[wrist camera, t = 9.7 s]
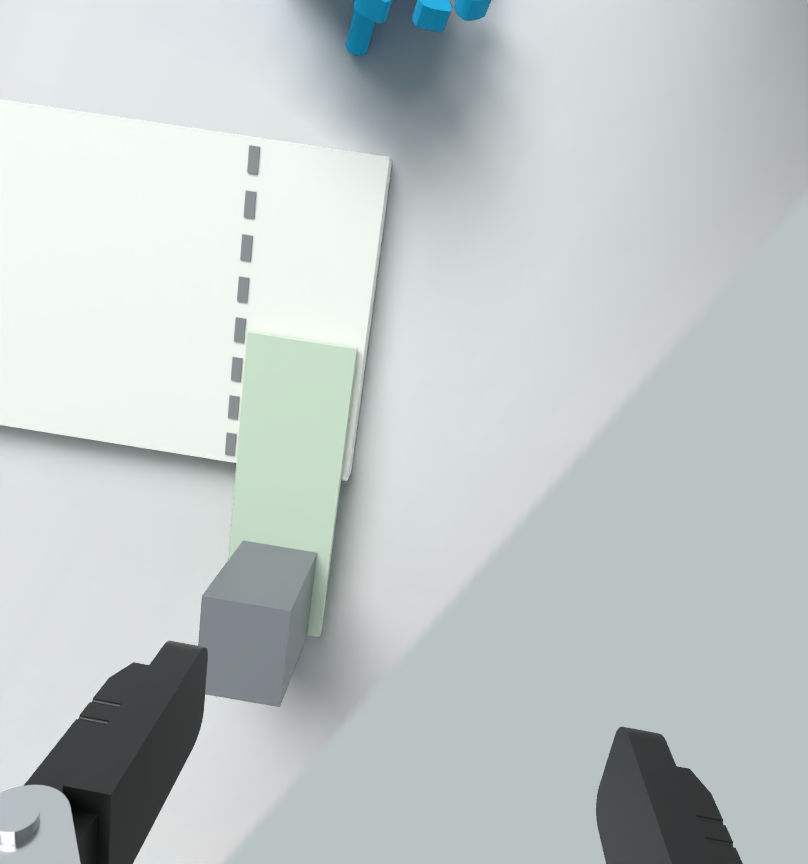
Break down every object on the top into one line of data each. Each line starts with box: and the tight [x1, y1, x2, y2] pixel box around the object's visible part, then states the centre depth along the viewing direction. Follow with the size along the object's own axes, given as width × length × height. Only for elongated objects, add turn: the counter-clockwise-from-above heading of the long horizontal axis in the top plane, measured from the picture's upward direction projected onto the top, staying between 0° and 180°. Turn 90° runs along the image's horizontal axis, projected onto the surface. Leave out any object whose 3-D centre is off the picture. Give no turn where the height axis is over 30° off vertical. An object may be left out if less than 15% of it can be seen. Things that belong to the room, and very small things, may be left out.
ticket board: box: [0, 99, 392, 481], centre depth 33 cm, size 16×24×2 cm, turn 82°
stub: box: [198, 331, 358, 707], centre depth 31 cm, size 16×5×7 cm, turn 172°
